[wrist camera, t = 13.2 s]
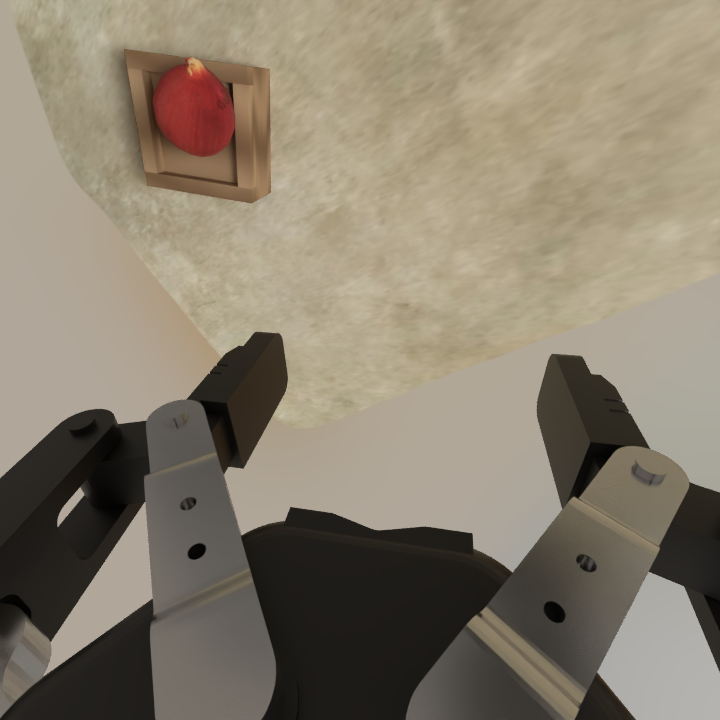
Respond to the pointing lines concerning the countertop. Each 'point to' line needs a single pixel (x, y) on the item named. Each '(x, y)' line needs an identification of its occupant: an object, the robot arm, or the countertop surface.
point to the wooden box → (231, 165)
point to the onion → (194, 109)
